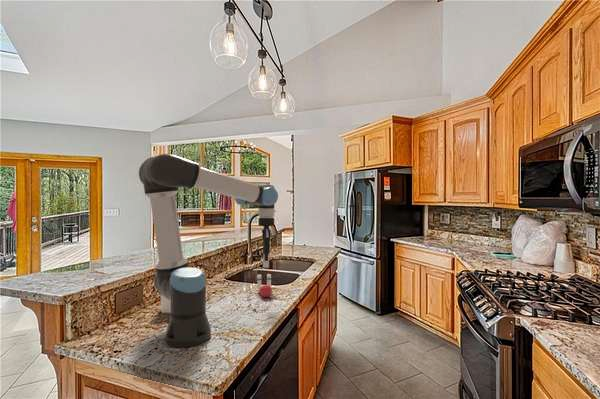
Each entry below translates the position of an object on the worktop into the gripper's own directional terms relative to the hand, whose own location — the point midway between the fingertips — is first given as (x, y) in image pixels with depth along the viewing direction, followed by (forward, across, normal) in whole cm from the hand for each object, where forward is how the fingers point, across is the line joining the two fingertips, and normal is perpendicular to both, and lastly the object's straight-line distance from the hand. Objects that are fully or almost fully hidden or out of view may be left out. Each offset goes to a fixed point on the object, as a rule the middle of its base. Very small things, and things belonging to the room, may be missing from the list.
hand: (265, 267), depth 146 cm
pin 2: (+16, +15, -3) cm, 22 cm away
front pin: (+15, +11, -1) cm, 19 cm away
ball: (+13, +7, -1) cm, 15 cm away
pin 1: (+16, +15, +2) cm, 22 cm away
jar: (+17, -3, +42) cm, 45 cm away
